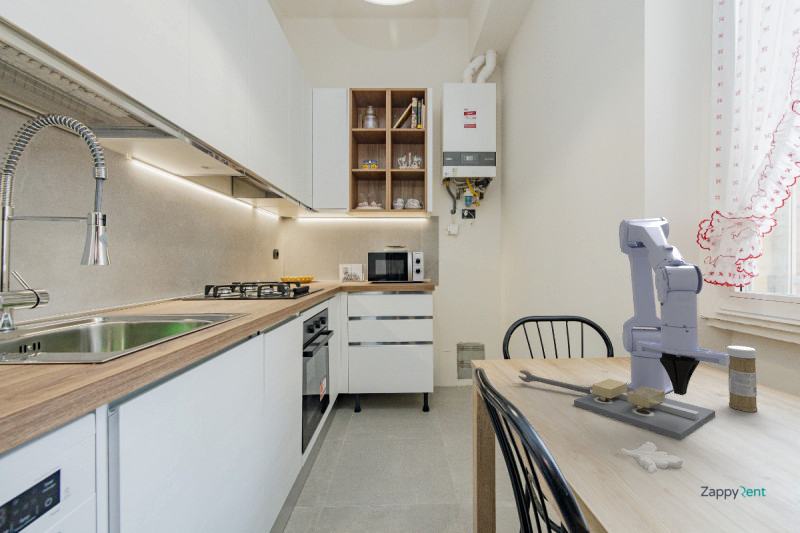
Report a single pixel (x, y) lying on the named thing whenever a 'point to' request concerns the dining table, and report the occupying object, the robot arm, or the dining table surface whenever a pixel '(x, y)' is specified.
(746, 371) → the sprinkles bottle
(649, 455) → the acanthus leaf ornament
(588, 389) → the combination wrench
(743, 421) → the dining table surface
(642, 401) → the block
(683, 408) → the bolt plate
